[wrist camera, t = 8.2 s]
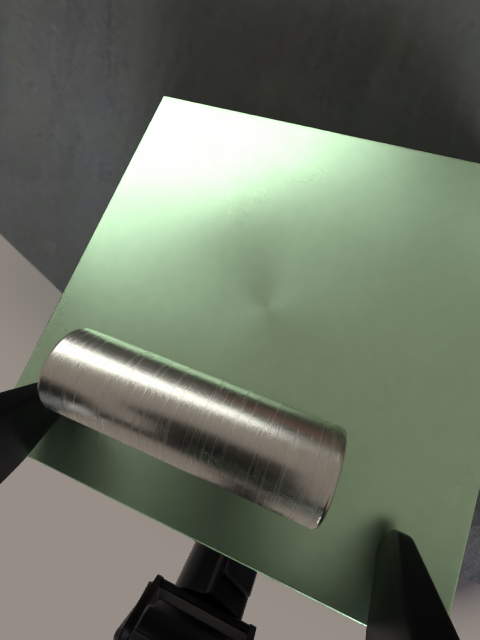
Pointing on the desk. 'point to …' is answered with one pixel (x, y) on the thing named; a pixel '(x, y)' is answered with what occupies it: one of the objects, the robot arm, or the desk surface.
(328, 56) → the desk surface
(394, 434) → the machine lid
